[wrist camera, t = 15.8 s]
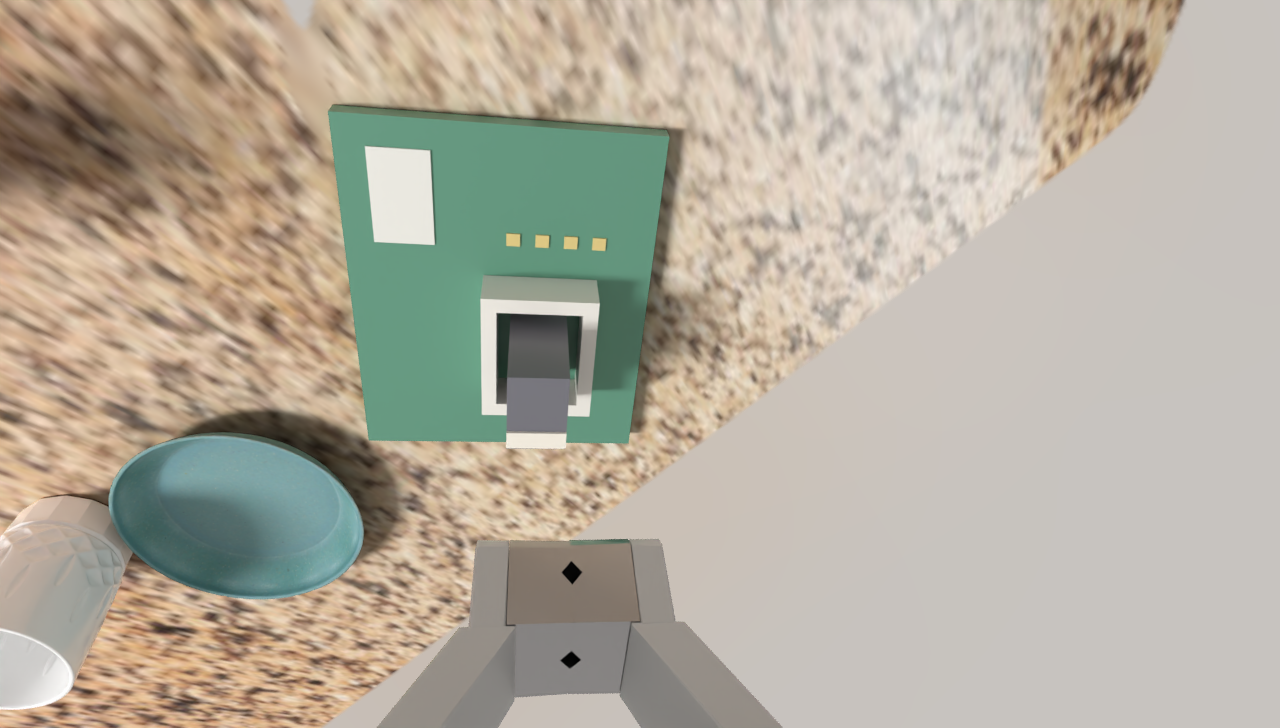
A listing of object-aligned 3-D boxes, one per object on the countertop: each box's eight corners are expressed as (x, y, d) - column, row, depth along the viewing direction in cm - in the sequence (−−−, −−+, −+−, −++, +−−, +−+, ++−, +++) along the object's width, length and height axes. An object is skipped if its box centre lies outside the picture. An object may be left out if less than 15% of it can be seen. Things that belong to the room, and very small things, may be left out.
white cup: (174, 551, 51) (106, 687, 43) (71, 583, 52) (-15, 723, 44) (90, 472, 47) (-3, 609, 39) (-21, 509, 47) (-136, 650, 39)
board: (332, 104, 36) (315, 128, 33) (666, 129, 38) (676, 154, 35) (371, 429, 47) (361, 468, 44) (626, 433, 49) (632, 470, 47)
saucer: (102, 399, 44) (79, 428, 42) (367, 415, 47) (358, 443, 44) (151, 567, 52) (134, 598, 50) (374, 572, 55) (367, 603, 53)
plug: (511, 302, 42) (507, 379, 36) (565, 304, 42) (570, 380, 36) (510, 368, 44) (506, 450, 38) (561, 369, 45) (565, 450, 39)
